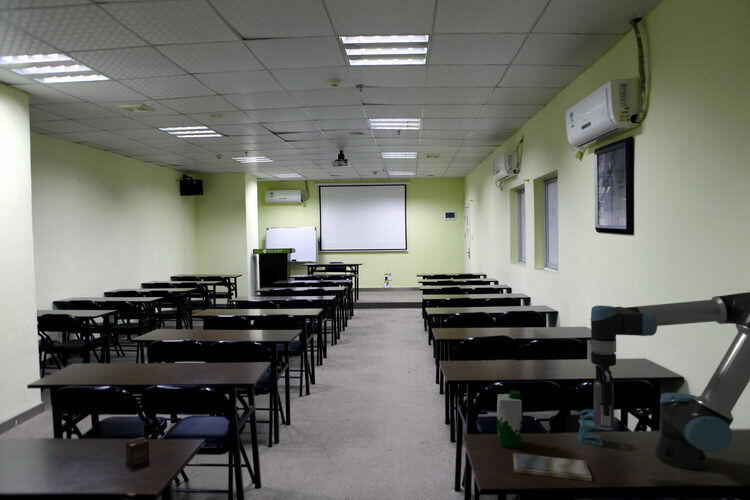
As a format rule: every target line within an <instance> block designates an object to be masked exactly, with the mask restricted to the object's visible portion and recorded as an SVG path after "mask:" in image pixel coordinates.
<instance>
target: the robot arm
mask: <svg viewBox="0 0 750 500" xmlns="http://www.w3.org/2000/svg"><path fill="white" fill-rule="evenodd" d="M713 322H716V323H718V324H719V325H724V324H726V325H727V324H730V325H733V324H734V325H735V327H736V329H737V334H736V335H735V337H734V339H733V340H732V341H731V344H730V346H728V349H727V350H726V352H725V354H724V355H723V357H722V359H721V361H720V363H719V364H718V366H717V368H716V369H715V370H714V372H713V374H712V375H711V377H710V379H709V381H708V383H707V385H706V386H705V388H704V390H703V391H702V392H701V394H700V395H698V396H697V395H693V394H688V393H681V392H664V393H662V394H661V395H660V400H659V401H660V402H659V404H660V435H659V438H658V440H657V444H656V446H655V449H654V450H655V453H654V454H655V457H656V458H657V459H658V460H660V461H661V462H663V463H664V464H668V465H670V466H673V467H677V468H680V467H681V468H680V469H685V468H688V469H687V470H702V469H701V468H703V469H705V468H706V467H707V466H708V459H707V458H708V457H707V454H706V452H707V453H715V452H720V451H723V450H725V449H726V448H727V447H729V445H730V444H731V442H732V440H733V433H732V429H731V425H732V423H733V422H734V416H733V414H732V411H733V409H734V408H735V406H736V404H737V403H738V401H739V400H740V397H741V396H742V394H743V392H744V391H745V390H746V388H747V386H748V385H749V382H750V292H749V291H747V292H739V293H731V294H724V295H715V296H713V297H711V299H704V300H694V301H693V300H691V301H682V302H672V303H670V302H669V303H661V304H660V303H659V304H649V305H639V306H627V307H624V306H612V305H595V306H593V307H591V311H590V331H591V332H590V335H591V336H590V339H591V341H589V342H588V343H589V345H590V349H591V353H590V362H591V363H592V364H593V365H595V366H594V367H595V380H598V381H599V383H600V384H601V388H602V403H600V405H601V424H602V425H609V426H611V406H612V405H613V403H612V383H613V375H612V371H611V370H610V367H614V366H616V365H617V354H616V353H617V336H639V337H648V336H654V335H655V334H656V332H657V330H658V327H662V326H674V325H676V326H677V325H688V324H701V323H713ZM704 467H705V468H704Z"/></svg>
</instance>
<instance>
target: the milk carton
mask: <svg viewBox="0 0 750 500" xmlns="http://www.w3.org/2000/svg"><path fill="white" fill-rule="evenodd" d="M522 405H523V403H522V398H521V392H520V391H519V390H510V391H509V392H508V393H504V394H501V393H500V394H499V393H498V394H497V404H496V426H497V428H496V429H497V436H498V440H499V442H500V443H499V444H500V446H501V448H515V449H521V448H522V437H523V436H522V435H523V416H522V415H523V412H522V411H523V409H522V408H523V407H522Z"/></svg>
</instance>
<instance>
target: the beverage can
mask: <svg viewBox="0 0 750 500" xmlns="http://www.w3.org/2000/svg"><path fill="white" fill-rule="evenodd" d="M593 382H594V383H593V410H594V425H595V426H596V427H597V428H600V429H599V430H603V431H604V430H605V431H607V430H608V431H610V430H612V429H614V426H615V424H614V423H615V422H614V421H615V420H614V419H615V418H614V417H615V415H614V414H615V413H614V411H615V410H614V403H615V401H614V400H615V399H614V398H615V397H614V393H615V392H614V388H615V386H614V382H612V403H613V405H612V406H611V426H609V425H602V424H601V405H600V403H602V388H601V384H600V383H599V381H598V380H596V379H595V380H594V381H593Z"/></svg>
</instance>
